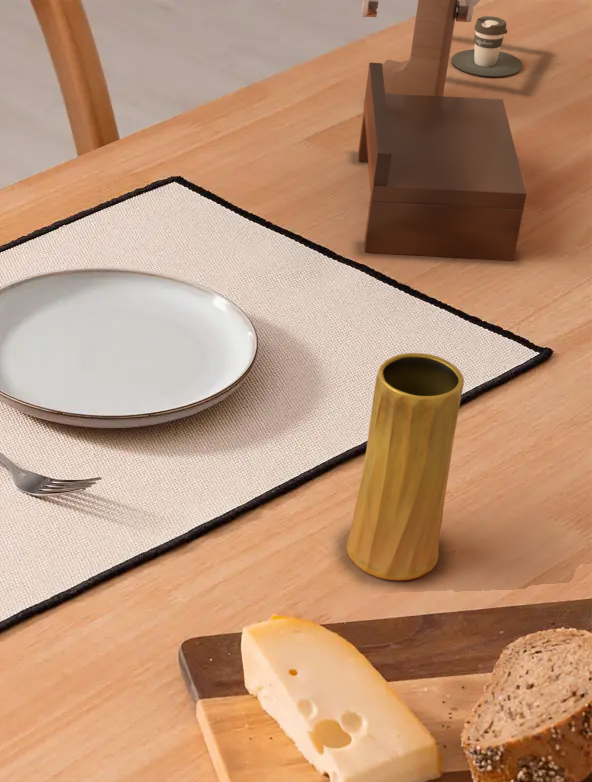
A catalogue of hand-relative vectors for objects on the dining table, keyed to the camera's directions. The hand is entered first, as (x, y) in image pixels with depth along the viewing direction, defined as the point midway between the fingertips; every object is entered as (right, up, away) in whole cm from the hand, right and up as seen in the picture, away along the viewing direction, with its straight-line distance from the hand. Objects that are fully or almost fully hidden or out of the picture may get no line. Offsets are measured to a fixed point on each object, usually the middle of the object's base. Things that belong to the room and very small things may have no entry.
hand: (415, 17), depth 157 cm
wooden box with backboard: (-1, -21, -12) cm, 25 cm away
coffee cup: (+11, -1, +14) cm, 18 cm away
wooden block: (0, -7, +6) cm, 10 cm away
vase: (-13, -53, -52) cm, 76 cm away
